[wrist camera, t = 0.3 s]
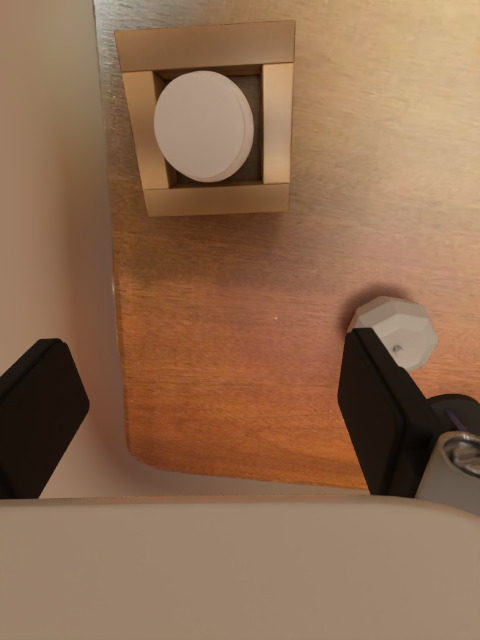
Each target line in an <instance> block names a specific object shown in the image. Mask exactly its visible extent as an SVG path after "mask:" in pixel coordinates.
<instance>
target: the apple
mask: <svg viewBox="0 0 480 640" xmlns="http://www.w3.org/2000/svg"><path fill="white" fill-rule="evenodd" d="M364 327H371V328H373V329H374V331H375V332H376V334H377V335H378V337H379V338H380V340H381V341H382V343H383V344H384V346H385V347H386V348H387V350H388V351H389V353H390V354H391V356H392V357H393V359H394V360H395V362H396V363H397V364H398V366H401V367H403V368H404V369H405V370H406V371H407V372H408V373H409V372H411V371H413V370H415V369H418V368H420V367H422V366H424V365H425V363H426V361H427V360H428V358H429V357H430V355H431V353H432V352H433V350H434V348H435V347H436V345H437V343H438V342H439V341H438V338H437V336H436V333H435V330H434V328H433V326H432V323H431V321H430V319H429V316H428V314H427V312H426V309H425V307H424V306H423V305H420V304H418V303H415V302H412V301H410V300H405V299H399V298H393V297H387V296H380V297H377V298H375V299H373V300H371V301H369V302H367V303H365V304H364V305H362V306H360V307H358V308H357V310H356V312H355V314H354V316H353V319H352V321H351V323H350V325H349V328H348V330H347V332H351V331H352V329H353V328H364ZM347 332H346V333H347Z"/></svg>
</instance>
